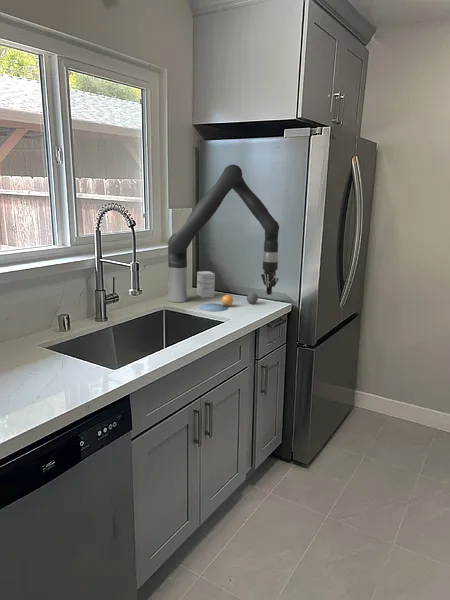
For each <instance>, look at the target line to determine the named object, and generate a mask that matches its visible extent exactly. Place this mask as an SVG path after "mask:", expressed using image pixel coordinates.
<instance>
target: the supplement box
mask: <svg viewBox="0 0 450 600" xmlns="http://www.w3.org/2000/svg"><path fill="white" fill-rule="evenodd" d="M196 277H197V278H196V295H197V296H199V297H200V298H202V299H204V298H205V299H206V298H214V297H215V288H216V287H215V284H216V282H215V281H216V280H215V279H216V278H215V277H216V275H215V273H214V272H213V271H209V270H207V271H206V270H205V271H204V270H202V271H197V272H196Z"/></svg>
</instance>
